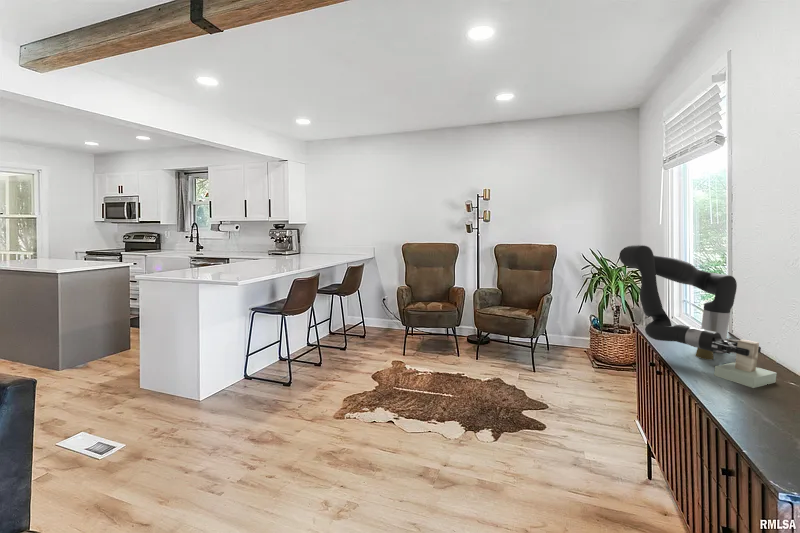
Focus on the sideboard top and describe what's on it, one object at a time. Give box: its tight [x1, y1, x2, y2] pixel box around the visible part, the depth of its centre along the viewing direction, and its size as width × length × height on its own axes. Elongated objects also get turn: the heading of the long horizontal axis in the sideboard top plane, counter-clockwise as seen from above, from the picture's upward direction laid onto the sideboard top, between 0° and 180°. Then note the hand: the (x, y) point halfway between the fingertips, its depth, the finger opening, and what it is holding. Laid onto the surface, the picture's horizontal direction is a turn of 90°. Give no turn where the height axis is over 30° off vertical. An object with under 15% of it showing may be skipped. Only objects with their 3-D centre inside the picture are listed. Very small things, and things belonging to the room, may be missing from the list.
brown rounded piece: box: [695, 348, 714, 361], centre depth 171 cm, size 6×6×11 cm
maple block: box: [735, 338, 760, 372], centre depth 147 cm, size 4×4×10 cm
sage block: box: [713, 361, 778, 389], centre depth 148 cm, size 14×12×4 cm
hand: (754, 351), depth 145 cm, fingers open, 8 cm apart
